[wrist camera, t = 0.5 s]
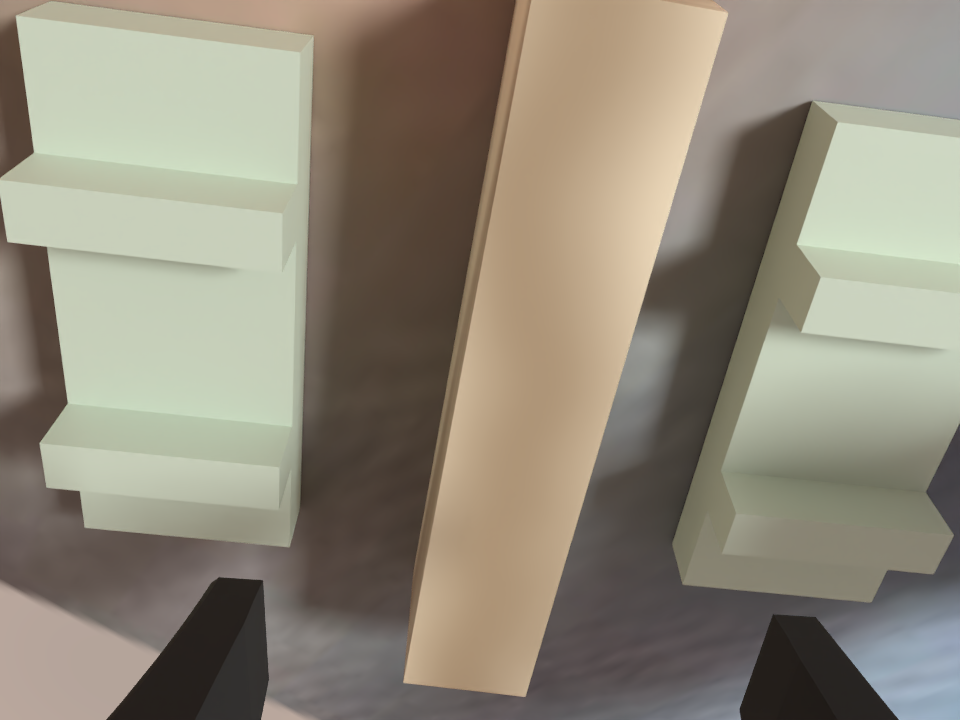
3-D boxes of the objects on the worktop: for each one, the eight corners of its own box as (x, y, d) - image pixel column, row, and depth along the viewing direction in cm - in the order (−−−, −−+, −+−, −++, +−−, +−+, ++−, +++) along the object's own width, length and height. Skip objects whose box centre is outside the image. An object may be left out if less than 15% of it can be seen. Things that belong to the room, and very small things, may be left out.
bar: (679, -26, 17) (728, 12, 14) (519, 577, 25) (525, 696, 22) (524, -55, 17) (535, -23, 13) (414, 564, 25) (403, 682, 22)
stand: (1048, 132, 18) (1141, 182, 16) (850, 561, 24) (894, 648, 22) (51, 1, 17) (-27, 32, 14) (106, 488, 23) (59, 571, 21)
